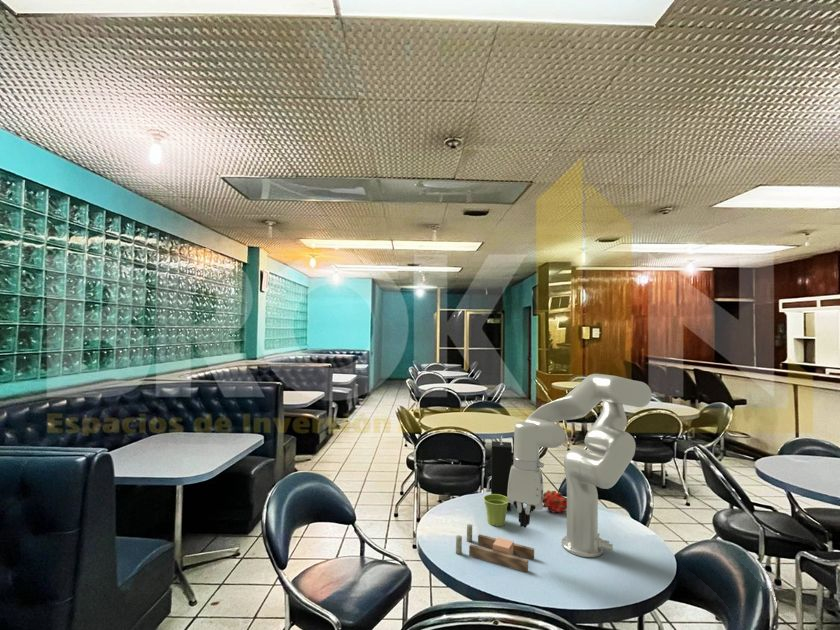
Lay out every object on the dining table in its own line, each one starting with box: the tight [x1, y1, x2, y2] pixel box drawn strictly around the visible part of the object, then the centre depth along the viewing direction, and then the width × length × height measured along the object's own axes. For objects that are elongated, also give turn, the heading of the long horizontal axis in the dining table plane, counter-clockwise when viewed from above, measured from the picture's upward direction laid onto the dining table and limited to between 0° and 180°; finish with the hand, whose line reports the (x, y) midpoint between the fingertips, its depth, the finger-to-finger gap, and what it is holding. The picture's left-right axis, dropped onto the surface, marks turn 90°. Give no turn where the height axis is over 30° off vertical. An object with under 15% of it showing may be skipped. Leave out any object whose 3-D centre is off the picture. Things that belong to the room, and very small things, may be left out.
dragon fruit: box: [542, 490, 567, 514], centre depth 166 cm, size 8×8×12 cm
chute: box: [455, 524, 535, 573], centre depth 132 cm, size 22×11×5 cm, turn 62°
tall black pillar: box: [490, 435, 513, 512], centre depth 170 cm, size 8×8×28 cm
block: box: [492, 537, 514, 556], centre depth 131 cm, size 5×5×4 cm
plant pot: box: [483, 493, 509, 527], centre depth 155 cm, size 9×9×9 cm
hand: (524, 525), depth 128 cm, fingers closed
